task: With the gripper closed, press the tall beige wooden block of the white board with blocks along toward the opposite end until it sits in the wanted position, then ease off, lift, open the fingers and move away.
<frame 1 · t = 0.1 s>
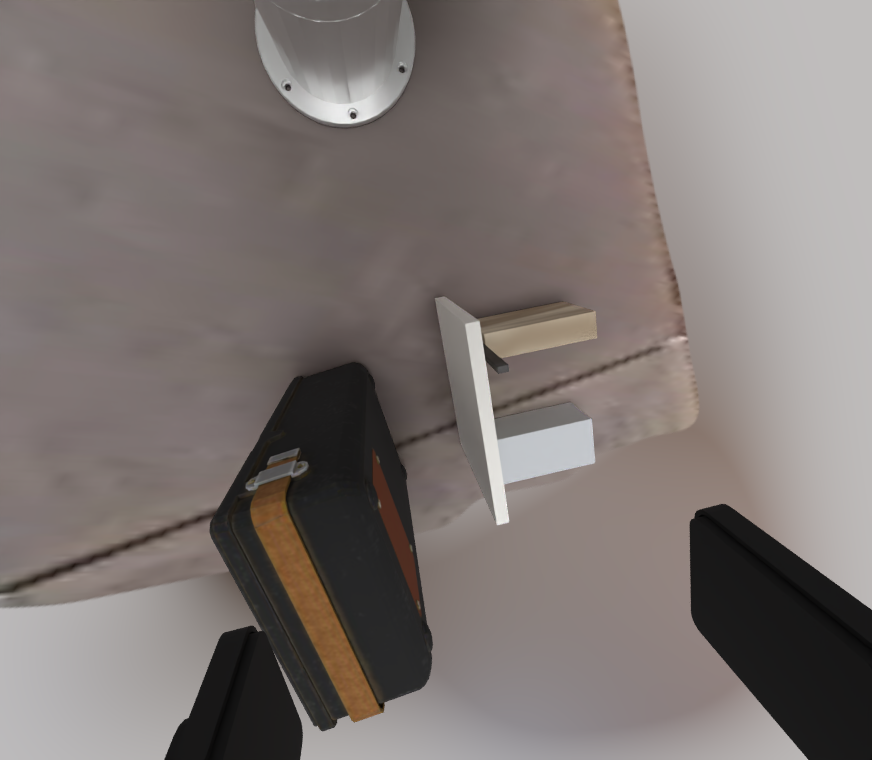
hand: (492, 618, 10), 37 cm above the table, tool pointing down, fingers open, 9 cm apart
tall beige wooden block: (536, 336, 39), point 7 cm above the table, slide at 0.0 cm
white board with blocks: (516, 322, 46), on the table
voltmeter: (350, 432, 47), on the table
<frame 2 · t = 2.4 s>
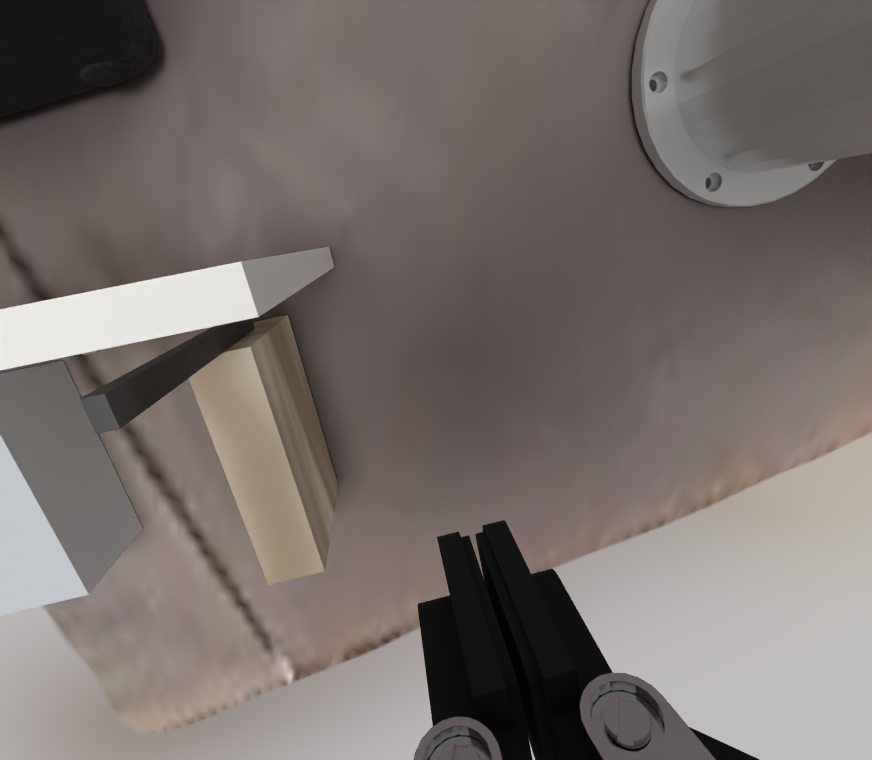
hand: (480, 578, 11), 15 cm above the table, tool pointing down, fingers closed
tall beige wooden block: (257, 465, 17), point 7 cm above the table, slide at 0.0 cm
white board with blocks: (293, 408, 24), on the table
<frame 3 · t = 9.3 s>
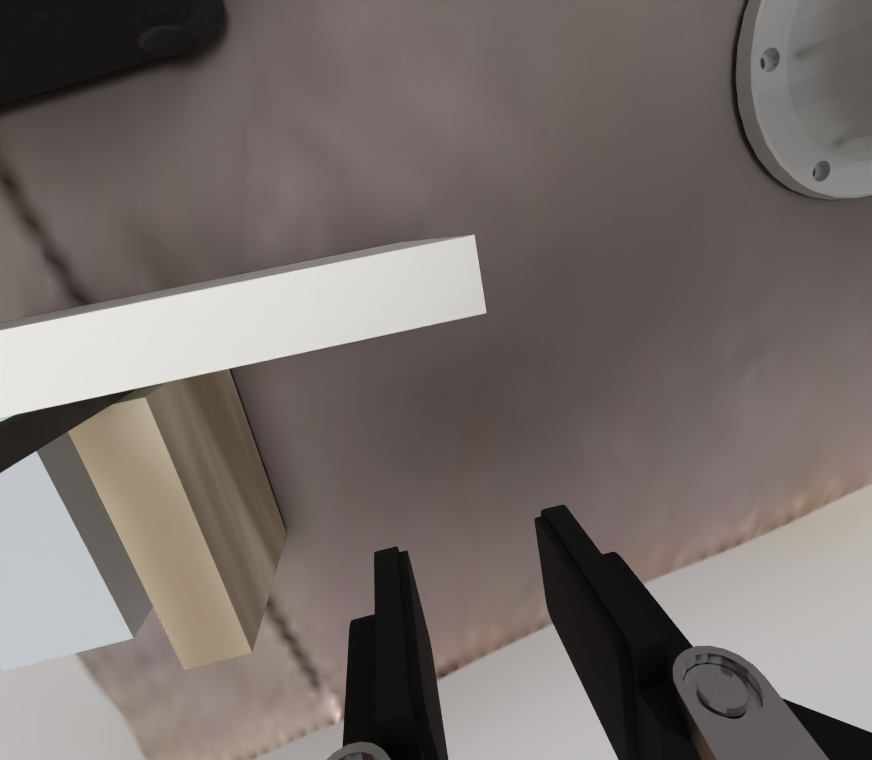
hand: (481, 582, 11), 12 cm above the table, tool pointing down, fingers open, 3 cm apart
tall beige wooden block: (164, 534, 15), point 7 cm above the table, slide at 5.9 cm
white board with blocks: (354, 422, 22), on the table
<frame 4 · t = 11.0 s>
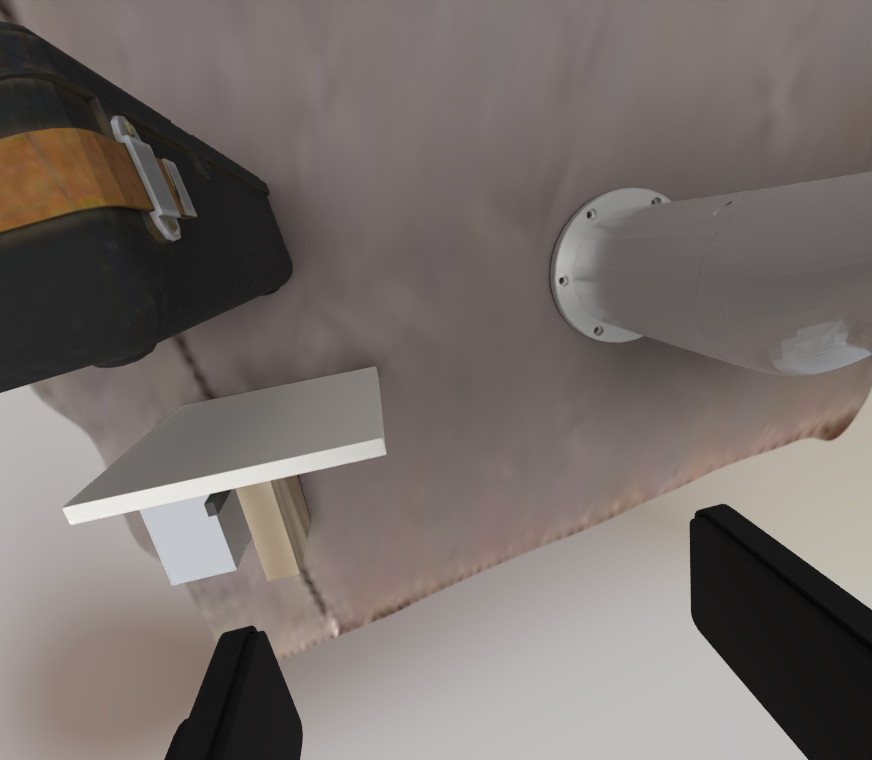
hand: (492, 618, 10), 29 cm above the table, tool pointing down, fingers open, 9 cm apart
tall beige wooden block: (264, 515, 32), point 7 cm above the table, slide at 5.9 cm
white board with blocks: (349, 458, 40), on the table
voltmeter: (186, 255, 33), on the table
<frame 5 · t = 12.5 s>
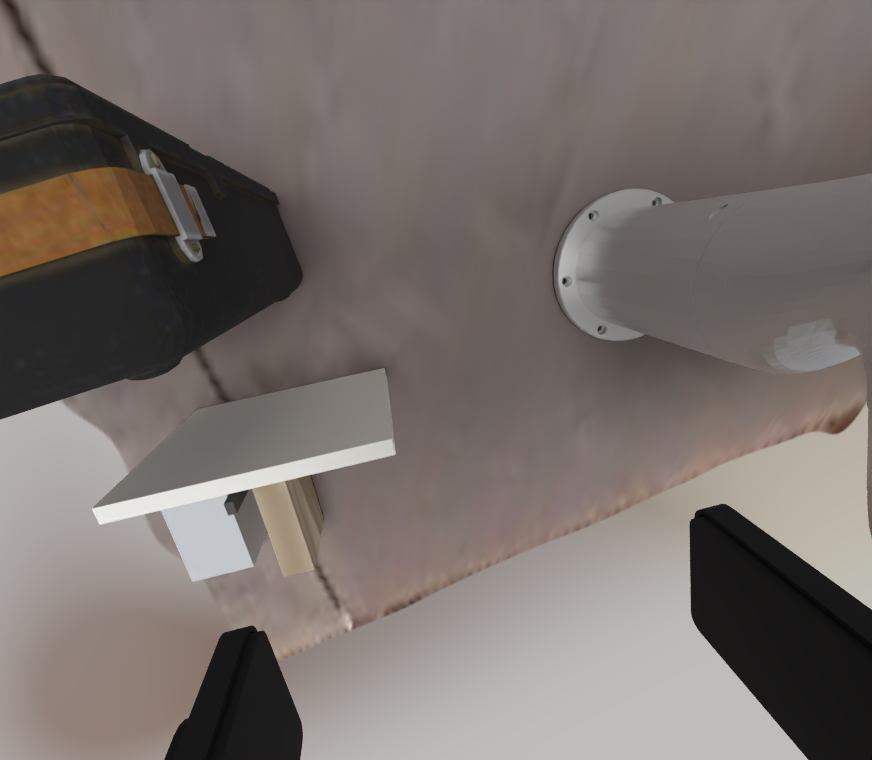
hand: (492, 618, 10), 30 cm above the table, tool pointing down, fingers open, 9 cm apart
tall beige wooden block: (279, 514, 34), point 7 cm above the table, slide at 5.9 cm
white board with blocks: (360, 457, 41), on the table
voltmeter: (200, 264, 35), on the table
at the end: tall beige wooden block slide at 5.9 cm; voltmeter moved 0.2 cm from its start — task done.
